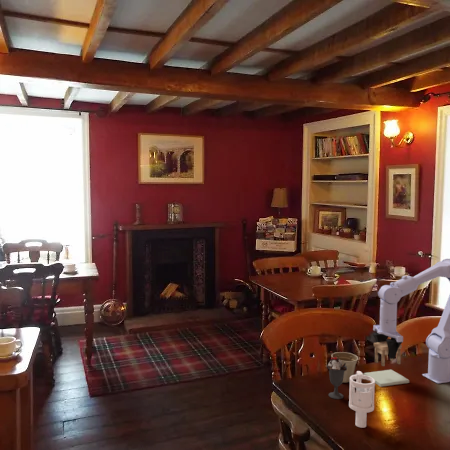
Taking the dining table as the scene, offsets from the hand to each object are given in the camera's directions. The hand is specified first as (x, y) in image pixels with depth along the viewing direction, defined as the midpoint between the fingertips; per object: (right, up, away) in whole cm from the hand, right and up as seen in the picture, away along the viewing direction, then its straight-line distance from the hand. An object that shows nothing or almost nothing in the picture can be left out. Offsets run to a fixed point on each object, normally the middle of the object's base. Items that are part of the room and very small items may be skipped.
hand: (386, 355), depth 166 cm
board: (0, -9, +1) cm, 9 cm away
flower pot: (-16, -9, 0) cm, 18 cm away
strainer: (-19, -11, -32) cm, 39 cm away
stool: (0, -3, 0) cm, 3 cm away
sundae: (-22, -10, -13) cm, 28 cm away
